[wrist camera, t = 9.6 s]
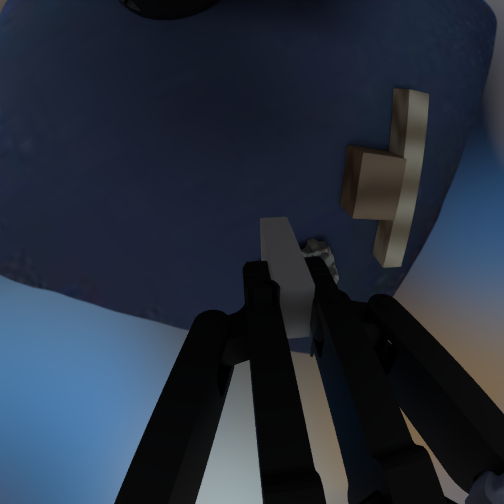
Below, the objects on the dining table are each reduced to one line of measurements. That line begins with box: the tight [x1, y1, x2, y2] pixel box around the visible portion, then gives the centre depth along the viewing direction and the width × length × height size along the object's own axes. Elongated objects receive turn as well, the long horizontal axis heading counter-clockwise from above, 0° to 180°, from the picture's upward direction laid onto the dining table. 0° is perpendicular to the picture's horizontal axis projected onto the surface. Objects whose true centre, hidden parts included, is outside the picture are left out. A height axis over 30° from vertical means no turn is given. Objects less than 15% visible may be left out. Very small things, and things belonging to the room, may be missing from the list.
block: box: [340, 145, 407, 221], centre depth 35 cm, size 8×6×5 cm
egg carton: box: [301, 238, 339, 283], centre depth 42 cm, size 11×8×4 cm
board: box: [372, 89, 429, 268], centre depth 36 cm, size 24×3×4 cm, turn 0°
